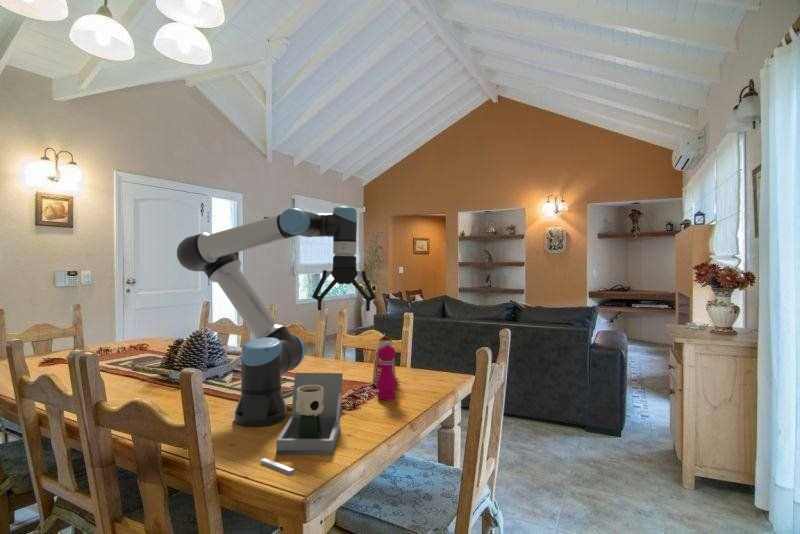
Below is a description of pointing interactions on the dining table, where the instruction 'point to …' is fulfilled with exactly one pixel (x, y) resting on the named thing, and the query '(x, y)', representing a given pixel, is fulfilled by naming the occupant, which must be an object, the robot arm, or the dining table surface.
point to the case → (329, 417)
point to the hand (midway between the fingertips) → (343, 321)
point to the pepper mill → (386, 373)
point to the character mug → (309, 410)
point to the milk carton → (377, 359)
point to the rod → (277, 466)
